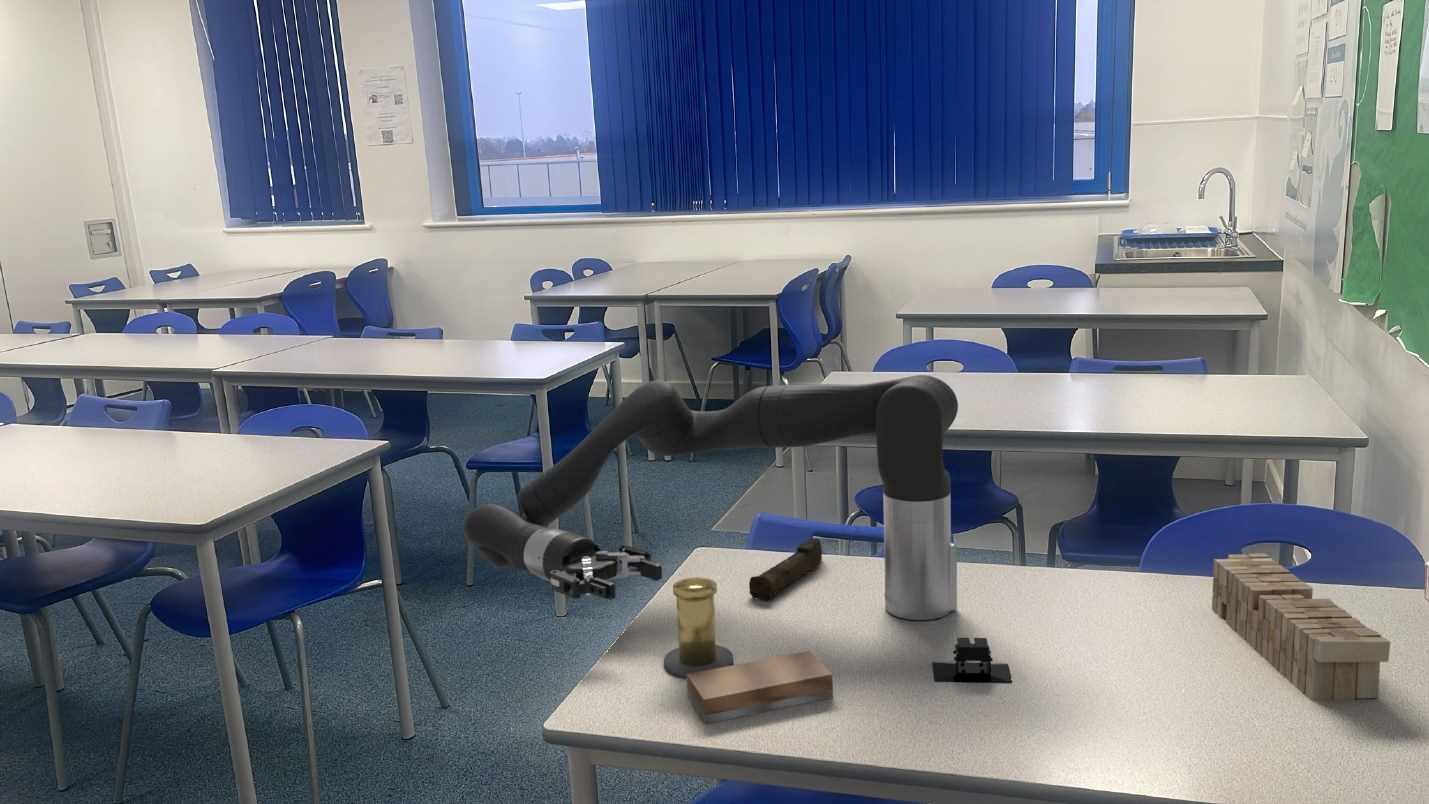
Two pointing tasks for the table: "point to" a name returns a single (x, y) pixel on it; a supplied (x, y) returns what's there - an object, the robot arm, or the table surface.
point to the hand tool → (787, 570)
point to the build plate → (971, 665)
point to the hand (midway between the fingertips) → (637, 582)
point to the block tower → (1298, 629)
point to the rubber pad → (681, 670)
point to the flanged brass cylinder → (696, 620)
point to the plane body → (759, 686)
